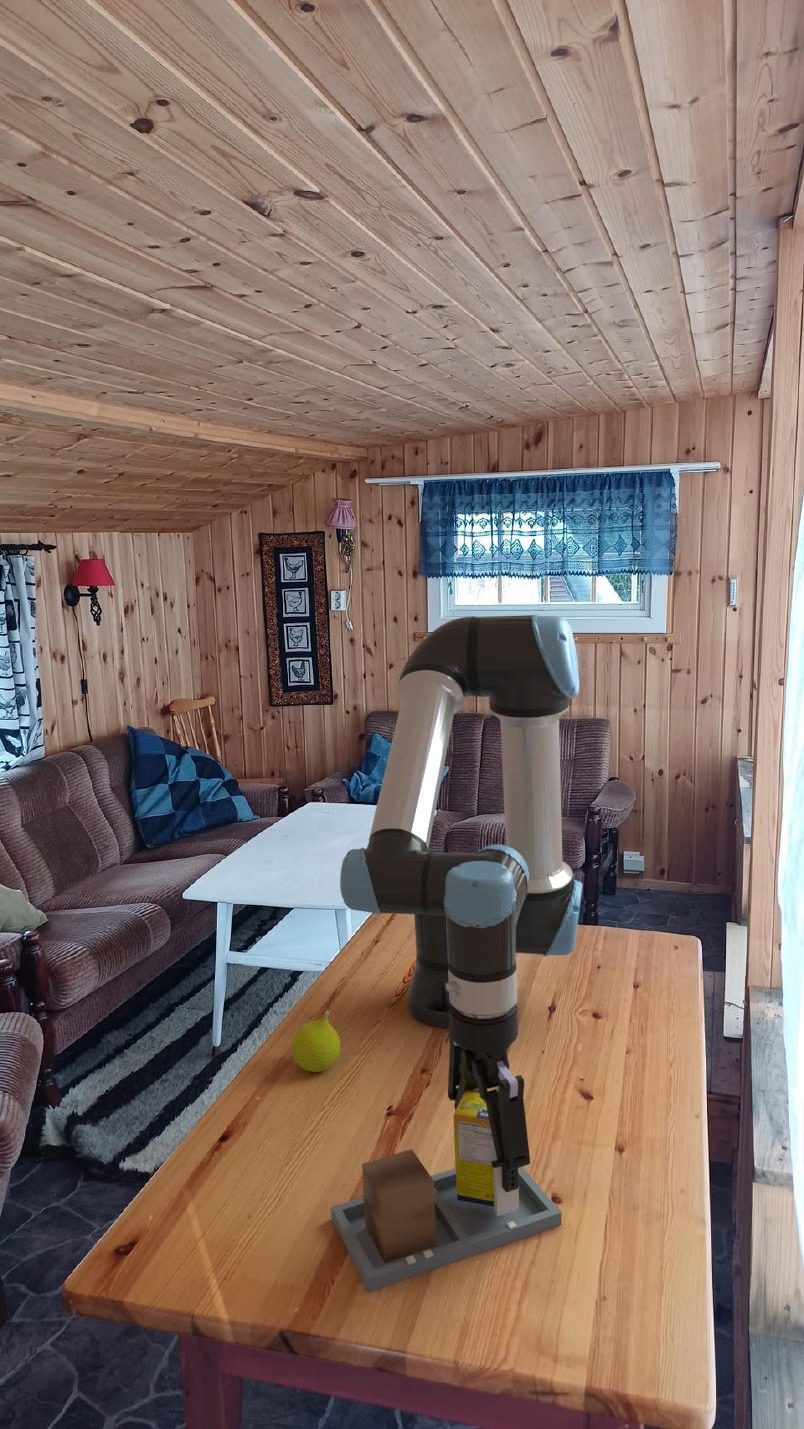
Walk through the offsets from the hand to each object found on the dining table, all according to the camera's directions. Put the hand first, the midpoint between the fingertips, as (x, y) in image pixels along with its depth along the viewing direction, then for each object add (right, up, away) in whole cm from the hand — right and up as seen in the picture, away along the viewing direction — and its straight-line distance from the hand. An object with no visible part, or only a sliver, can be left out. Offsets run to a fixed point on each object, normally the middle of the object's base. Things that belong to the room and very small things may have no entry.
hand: (488, 1186), depth 112 cm
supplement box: (0, 0, 0) cm, 0 cm away
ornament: (-22, +2, +32) cm, 39 cm away
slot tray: (-5, -4, -2) cm, 6 cm away
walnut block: (-10, -4, -4) cm, 11 cm away
